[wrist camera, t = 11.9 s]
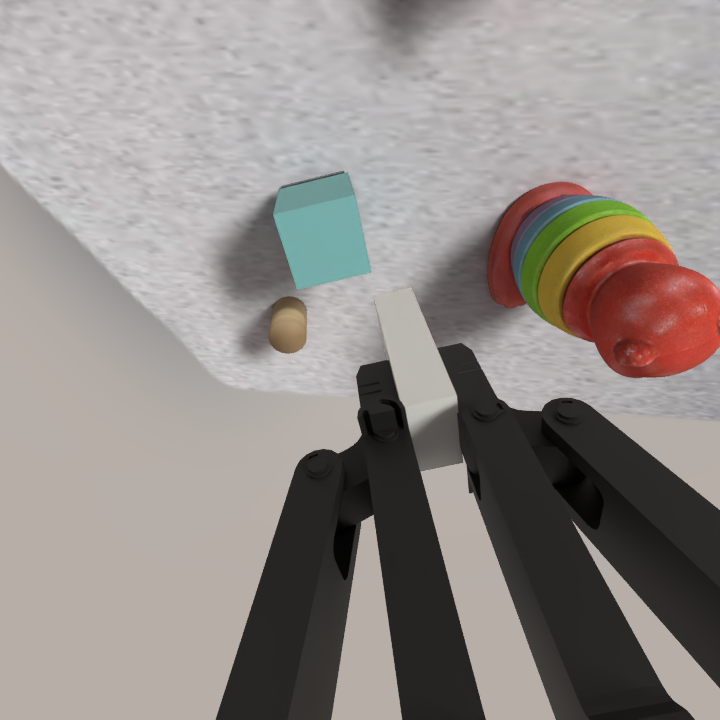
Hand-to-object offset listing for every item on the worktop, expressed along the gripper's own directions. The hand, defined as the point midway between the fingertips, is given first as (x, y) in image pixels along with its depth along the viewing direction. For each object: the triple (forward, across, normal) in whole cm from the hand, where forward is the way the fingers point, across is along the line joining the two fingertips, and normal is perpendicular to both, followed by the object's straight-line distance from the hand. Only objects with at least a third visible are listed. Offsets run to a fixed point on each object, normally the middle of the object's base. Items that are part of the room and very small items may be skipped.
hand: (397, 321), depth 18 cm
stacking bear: (+20, +15, -8) cm, 26 cm away
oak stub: (+20, -8, -9) cm, 23 cm away
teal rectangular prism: (+19, -3, -1) cm, 19 cm away
